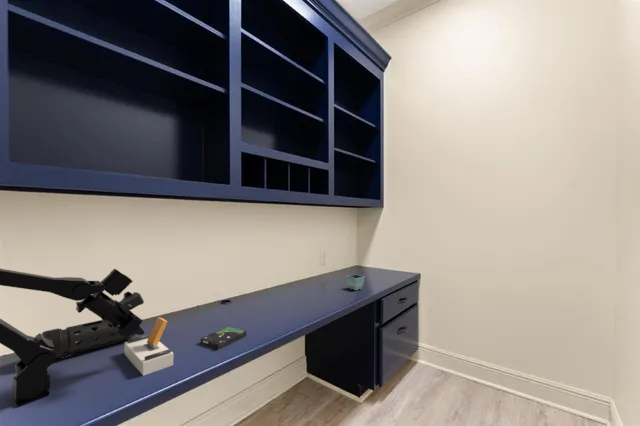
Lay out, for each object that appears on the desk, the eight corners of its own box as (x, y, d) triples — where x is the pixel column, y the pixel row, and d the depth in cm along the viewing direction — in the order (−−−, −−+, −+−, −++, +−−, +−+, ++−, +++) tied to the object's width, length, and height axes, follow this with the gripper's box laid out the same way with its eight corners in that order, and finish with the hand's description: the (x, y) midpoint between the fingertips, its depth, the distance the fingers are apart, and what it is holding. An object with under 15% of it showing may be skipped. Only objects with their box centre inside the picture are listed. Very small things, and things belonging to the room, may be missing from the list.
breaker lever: (151, 348, 100) (163, 321, 103) (145, 343, 104) (157, 316, 107) (156, 349, 101) (168, 322, 104) (150, 343, 105) (161, 317, 108)
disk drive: (219, 351, 110) (247, 337, 123) (219, 344, 110) (247, 330, 123) (199, 345, 115) (228, 331, 128) (200, 338, 115) (228, 325, 128)
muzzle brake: (136, 342, 115) (136, 316, 115) (37, 370, 94) (37, 338, 94) (128, 335, 122) (129, 310, 122) (33, 360, 101) (34, 329, 101)
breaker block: (143, 375, 92) (143, 359, 92) (124, 354, 106) (124, 339, 106) (173, 365, 99) (173, 349, 99) (152, 345, 112) (152, 332, 112)
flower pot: (355, 292, 194) (356, 278, 194) (346, 289, 201) (346, 275, 201) (364, 289, 200) (364, 276, 200) (354, 287, 207) (355, 274, 207)
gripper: (136, 291, 91) (172, 319, 99) (119, 281, 104) (152, 306, 112) (103, 324, 85) (145, 350, 93) (90, 308, 98) (127, 333, 106)
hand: (143, 333), depth 101 cm, fingers closed
